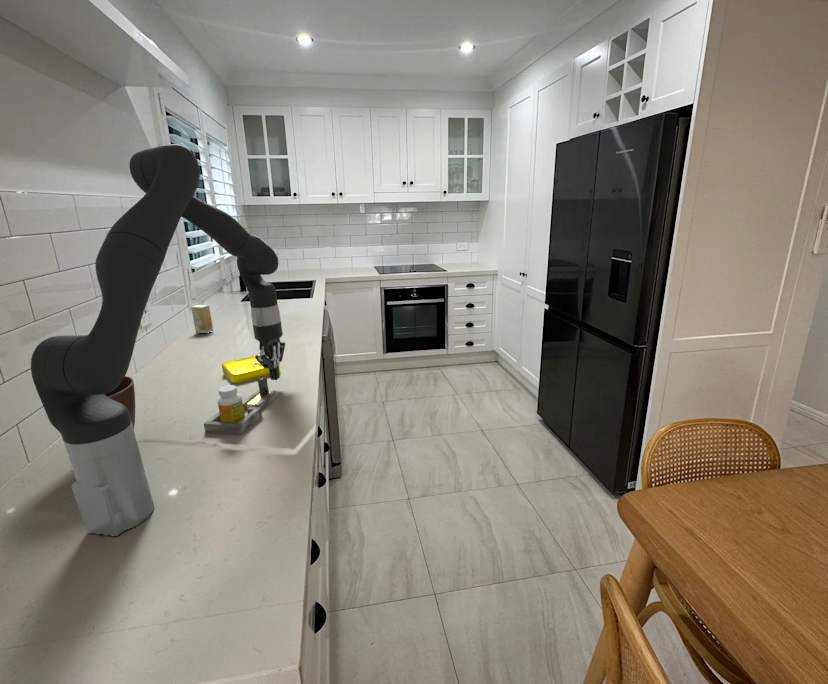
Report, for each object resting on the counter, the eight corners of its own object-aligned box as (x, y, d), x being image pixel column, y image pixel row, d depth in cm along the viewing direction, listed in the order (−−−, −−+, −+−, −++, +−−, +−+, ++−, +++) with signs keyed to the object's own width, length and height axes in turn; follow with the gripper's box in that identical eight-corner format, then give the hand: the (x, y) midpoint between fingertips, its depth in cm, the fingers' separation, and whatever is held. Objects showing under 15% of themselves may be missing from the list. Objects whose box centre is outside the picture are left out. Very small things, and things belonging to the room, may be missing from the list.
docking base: (245, 442, 98) (243, 429, 97) (195, 438, 100) (192, 425, 99) (293, 397, 120) (291, 386, 119) (251, 395, 123) (249, 384, 122)
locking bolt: (255, 410, 111) (252, 389, 109) (247, 409, 112) (243, 389, 110) (271, 396, 119) (268, 377, 117) (263, 396, 119) (260, 377, 118)
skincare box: (195, 333, 188) (189, 306, 184) (202, 330, 192) (197, 304, 188) (207, 334, 186) (202, 307, 183) (214, 331, 190) (209, 304, 186)
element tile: (267, 363, 149) (265, 351, 147) (282, 376, 137) (280, 362, 136) (222, 374, 140) (219, 361, 139) (234, 389, 129) (231, 374, 127)
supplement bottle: (237, 430, 101) (230, 393, 98) (217, 429, 103) (210, 392, 100) (250, 420, 106) (244, 384, 103) (231, 418, 108) (224, 383, 105)
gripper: (266, 315, 125) (274, 370, 130) (240, 327, 112) (251, 387, 118) (290, 315, 123) (297, 371, 129) (266, 328, 111) (275, 389, 116)
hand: (275, 378), depth 123 cm, fingers closed
